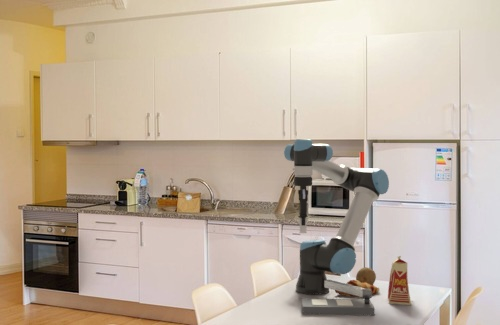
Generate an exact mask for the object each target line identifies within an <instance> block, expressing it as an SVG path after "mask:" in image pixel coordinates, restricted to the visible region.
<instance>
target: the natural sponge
mask: <svg viewBox="0 0 500 325" xmlns="http://www.w3.org/2000/svg"><path fill="white" fill-rule="evenodd" d="M376 278H377V273H376V272H375V271H374V270H373V269H372V268H370V267H362V268H360V269H359V270H358V271H357V273H356V276H355V280H358V281H360V282H361V283H362V282H366V283H368V284H370V285H375V281H376Z"/></svg>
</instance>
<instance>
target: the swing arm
mask: <svg viewBox="0 0 500 325" xmlns="http://www.w3.org/2000/svg"><path fill="white" fill-rule="evenodd" d="M324 287H325V288H329V290H333V291H335V290H337V291H341V292H345V293H348V294H352V295H356V296H357V297H360V298H363V299H364V298H367V299H369V298H370V299H372V295H373V294H372V290H371V289H365V288H361V287H357V286H353V285H349V284H347V283H344V282H340V281H337V280H332V279H327V280H324Z"/></svg>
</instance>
